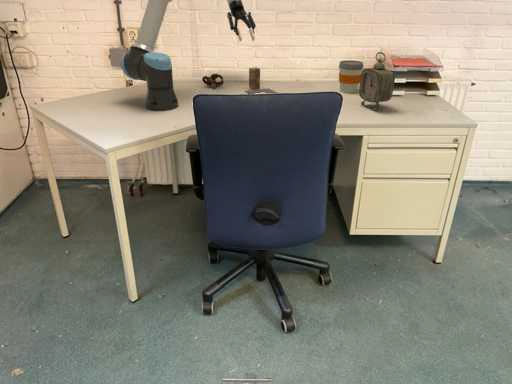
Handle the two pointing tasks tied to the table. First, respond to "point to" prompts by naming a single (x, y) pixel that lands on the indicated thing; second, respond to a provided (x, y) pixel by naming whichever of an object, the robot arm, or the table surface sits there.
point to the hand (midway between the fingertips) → (247, 39)
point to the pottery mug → (213, 80)
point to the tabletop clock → (376, 83)
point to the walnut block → (254, 78)
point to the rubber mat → (260, 91)
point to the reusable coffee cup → (350, 75)
